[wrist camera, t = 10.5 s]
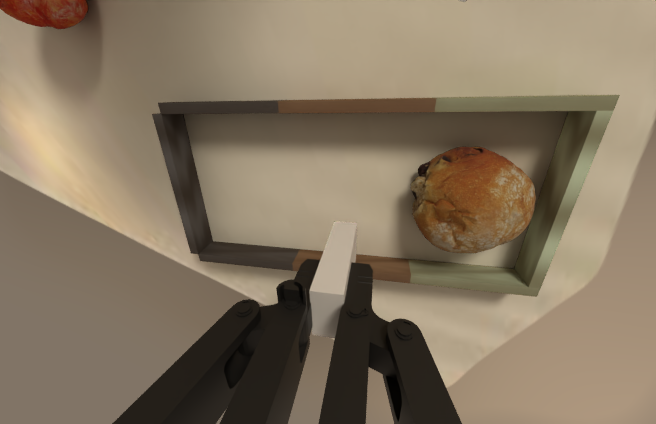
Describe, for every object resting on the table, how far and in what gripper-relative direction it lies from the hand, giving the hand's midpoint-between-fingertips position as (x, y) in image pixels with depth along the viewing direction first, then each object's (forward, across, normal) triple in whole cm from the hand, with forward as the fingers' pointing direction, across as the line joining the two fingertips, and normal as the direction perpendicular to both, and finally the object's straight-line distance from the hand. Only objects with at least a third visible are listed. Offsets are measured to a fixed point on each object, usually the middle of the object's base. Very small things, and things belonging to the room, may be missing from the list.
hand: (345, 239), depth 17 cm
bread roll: (+12, +10, -1) cm, 15 cm away
